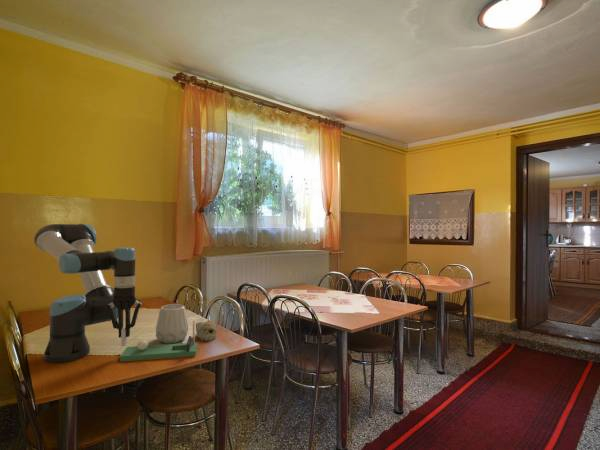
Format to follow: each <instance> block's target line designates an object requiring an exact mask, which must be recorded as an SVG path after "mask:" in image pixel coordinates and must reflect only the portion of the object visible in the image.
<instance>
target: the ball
mask: <svg viewBox="0 0 600 450" xmlns="http://www.w3.org/2000/svg"><path fill="white" fill-rule="evenodd" d="M136 346H137V348H138V349H139V350H141V351H143V350H145V349H146V348H147V347H148V346H149V342H148V341H147V340H145V339H142V340H139V341H138V343H137V344H136Z"/></svg>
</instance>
